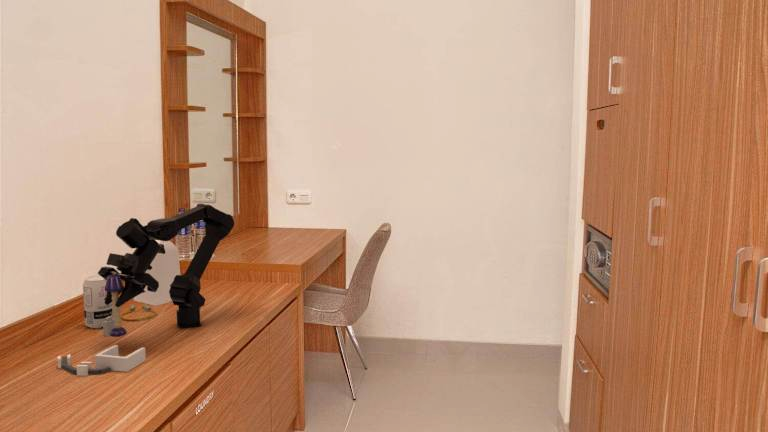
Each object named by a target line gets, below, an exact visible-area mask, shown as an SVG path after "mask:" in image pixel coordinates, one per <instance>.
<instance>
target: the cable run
mask: <svg viewBox="0 0 768 432" xmlns="http://www.w3.org/2000/svg"><path fill="white" fill-rule="evenodd" d="M61 369H63V370H64V371H66V372H68V373H70V374H73V375H77V367H74V366H72V365H71V366H70V365H68V359H67V355H66V356H61ZM111 371H112V370H111V369H110V367H105V368H101V369H95V368H92V369H88V375H101V374H102V375H103V374H106V373H110V372H111Z"/></svg>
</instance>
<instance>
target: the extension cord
mask: <svg viewBox="0 0 768 432" xmlns="http://www.w3.org/2000/svg"><path fill="white" fill-rule="evenodd" d="M141 309H142V310H136V304H133V303H132V304H130V306H129V311H127V312H124V313H120V318H121V321H125V320H126V321H125V322H141V321H140V320H142V321H146V319H147V320H150V319H152V318H155V317H157V316H158V312H156V311H155V310H154V309H152V307H151V305H149V304H146V303H143V305H142V306H141ZM137 311H139V312H140V311H142V312H143V313H144V312H149V313H150V312H151V313H154V314H152V315H150V316H146V317H145V316H144V317H141V318H125V317H122V316H124V315H126V314H130V313H135V312H137ZM139 312H138V313H139ZM140 313H141V312H140ZM121 315H122V316H121Z"/></svg>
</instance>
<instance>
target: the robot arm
mask: <svg viewBox="0 0 768 432" xmlns="http://www.w3.org/2000/svg"><path fill="white" fill-rule="evenodd" d="M201 221H202V222H203V223H205V225H204V232H205V233H204V234H205V235H204V237H203V239H202V241H201V242H200V244H199V246H198V248H197V250H196V251H195V253H194V255H193V258H192V260H191V261H190V263H189V265H188V267H187V269H186V271H185V272H184V273H182V275H181V274H180V275H176V276H175V278H174V281H173V282H172V284H171V285H170V287H171V288H170V290H169V293H170V298H171V299H172V302H171V303H172V304H173V305H174V306H177V308H178V309H176V312H175V313H176V325H177V326H178V328H179V329H184V328H192V327H193V328H194V327H201V326H202V323H201V308H202V307H204V306H205V303H206V298H205V297H204V296H203V295H202V294H201V293H200V291H201V289H202V288H201V278H202V276H203V275H204V273H205V270H206V268H207V267H208V265H209V264H210V263H209V262H210V261H211V259H212V257H213V255H214V254H215V251H216V249H217V247H218V245H219V244H220V242H221V241H222V240H223V239H225V238H226V237H228V236H229V235H230V233H231V231H232V230H233V229H234V226H235V221H234V218H233V216H232V215H231V214H228V213H226V212H223V211H221V210H219V209H217V208H215V207H214V206H213V205H211V204H206V203H204V204H203V203H200V204H198V205H196V206H195V207H192V208H190V209H188V210H186V211H183V212H181V213H177V214H176V215H174V216H171V217H165V218H158V219H152V220H151V221H149V222H148V223H147V224H146V225H142V223H140V221H139V219H137V218H134V217H130V219H129V220H128V221H125V222H124V223H122V224H121V225H119V226H118V227H117V229H116V232H115V234H116V236H117V238H118V239H120V240H121V241H122V242H123V243H124V244H125V245H127V246H128V247H129V248H130V249H135V250H134V251H133V252H132V253H130V252H126V253H125V254H124V255H123V254H117V253H111V252H110V253H109V254H108V258H107V261H106V265H108V266H103V267H100V268H99V270H98V272H97V275H98V276H101V277H103V278H104V279H105V280H106V281H107V277H108V276H109V275H112V274H118V275H119V276H120V278H121V281H122V283H123V282H124V288H123V289H122V290H120V291H118V297H119V298H118V300H117V302H116V304H115V306H116V307H120V306H121V307H122V306H123V305H124V304H126V303H127V302H129V301H131V300H132V299H134V297H136V296H137V295H139V294H141V293H144V292H145V291H144V289H145V287H146V286H148V287H147V290H148V291H151V292H156V291H157V289H158V287H159V282H158V281H157V280H156V279H155V278H153V277H152V276H151V275H150V274H148V273H145V272H146V271H147V270H151V269H152V266H150V264H151V263H152V261H153V260H154V258H155V257H156V255H157V253H161V254H165V249H164V245H163V244H159V243H158V242H157V241H156V240H160V241H171V240H173V239H174V238H175V237H177V236H178V235H179V233H180V231H182V230H183V229H186V228H188V227H189V226H192V225H194V224H196V223H198V222H201ZM111 266H113V267H111ZM115 267H116V268H115ZM111 302H112V294H111V292H107V295H106V299H105V304H106V305H109V304H110V303H111Z"/></svg>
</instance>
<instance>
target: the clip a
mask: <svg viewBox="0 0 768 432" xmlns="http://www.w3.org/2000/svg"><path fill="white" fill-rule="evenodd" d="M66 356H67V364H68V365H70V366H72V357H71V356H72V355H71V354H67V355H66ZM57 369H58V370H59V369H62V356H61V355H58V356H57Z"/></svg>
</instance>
